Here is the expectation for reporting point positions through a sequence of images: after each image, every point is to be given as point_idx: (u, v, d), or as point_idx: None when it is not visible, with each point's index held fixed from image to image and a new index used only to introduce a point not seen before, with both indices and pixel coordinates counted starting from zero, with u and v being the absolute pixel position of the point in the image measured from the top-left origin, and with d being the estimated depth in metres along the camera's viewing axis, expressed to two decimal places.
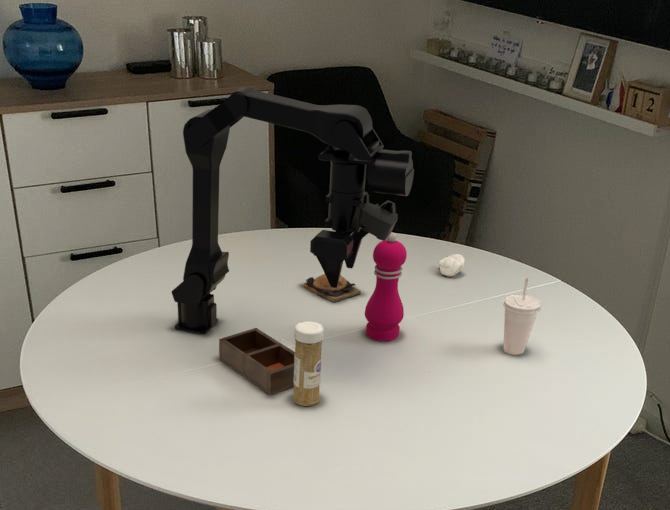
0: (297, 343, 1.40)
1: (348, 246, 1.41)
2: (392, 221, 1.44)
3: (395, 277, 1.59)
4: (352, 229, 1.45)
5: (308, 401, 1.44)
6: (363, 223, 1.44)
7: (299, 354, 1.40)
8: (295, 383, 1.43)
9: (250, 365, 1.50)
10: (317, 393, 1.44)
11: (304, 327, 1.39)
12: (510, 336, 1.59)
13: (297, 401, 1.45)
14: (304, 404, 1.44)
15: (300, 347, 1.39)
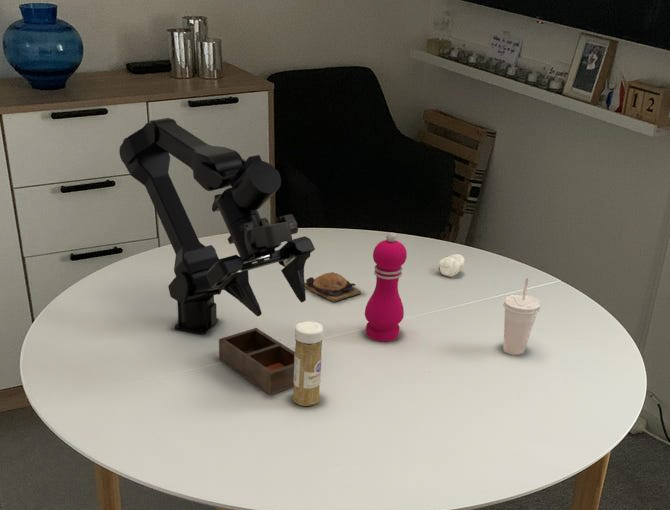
0: (297, 343, 1.40)
1: (228, 262, 1.39)
2: (273, 224, 1.38)
3: (395, 277, 1.59)
4: (249, 252, 1.42)
5: (308, 401, 1.44)
6: (251, 240, 1.41)
7: (299, 354, 1.40)
8: (295, 383, 1.43)
9: (250, 365, 1.50)
10: (317, 393, 1.44)
11: (304, 327, 1.39)
12: (510, 336, 1.59)
13: (297, 401, 1.45)
14: (304, 404, 1.44)
15: (300, 347, 1.39)
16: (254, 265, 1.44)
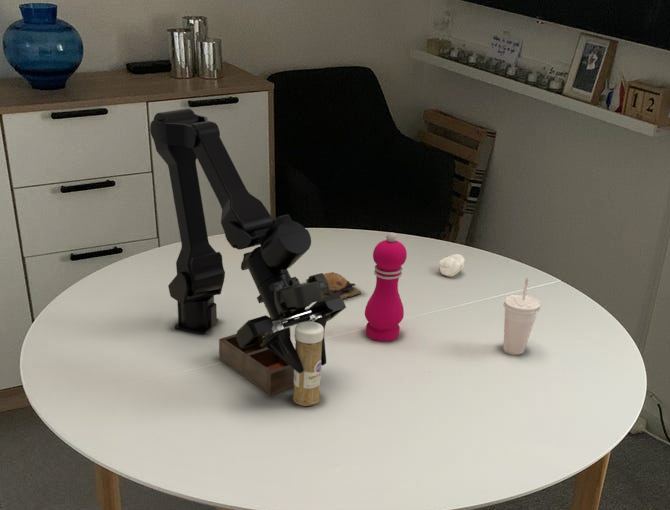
0: (297, 343, 1.40)
1: (257, 324, 1.36)
2: (304, 285, 1.36)
3: (395, 277, 1.59)
4: (279, 312, 1.40)
5: (308, 401, 1.44)
6: (281, 301, 1.38)
7: (299, 354, 1.40)
8: (295, 383, 1.43)
9: (250, 365, 1.50)
10: (317, 393, 1.44)
11: (304, 327, 1.39)
12: (510, 336, 1.59)
13: (297, 401, 1.45)
14: (304, 404, 1.44)
15: (301, 347, 1.39)
16: (284, 325, 1.41)
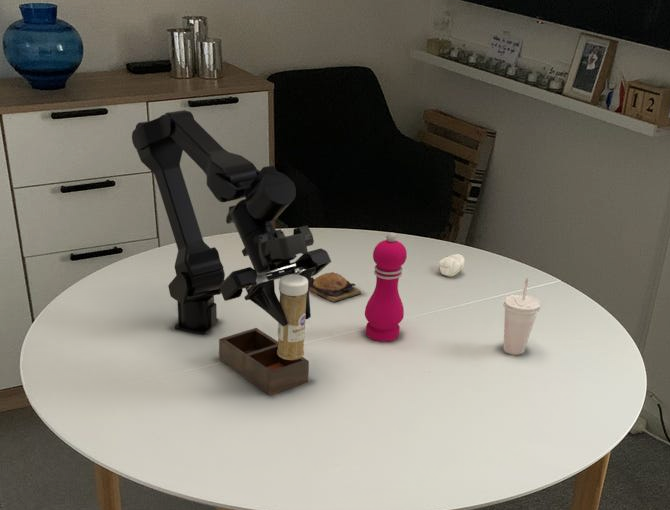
0: (281, 296, 1.39)
1: (241, 275, 1.36)
2: (288, 236, 1.35)
3: (395, 277, 1.59)
4: (263, 264, 1.39)
5: (292, 355, 1.44)
6: (266, 253, 1.38)
7: (283, 307, 1.40)
8: (279, 337, 1.43)
9: (250, 365, 1.50)
10: (301, 347, 1.44)
11: (289, 279, 1.38)
12: (510, 336, 1.59)
13: (281, 355, 1.44)
14: (288, 358, 1.44)
15: (285, 300, 1.39)
16: (268, 278, 1.41)
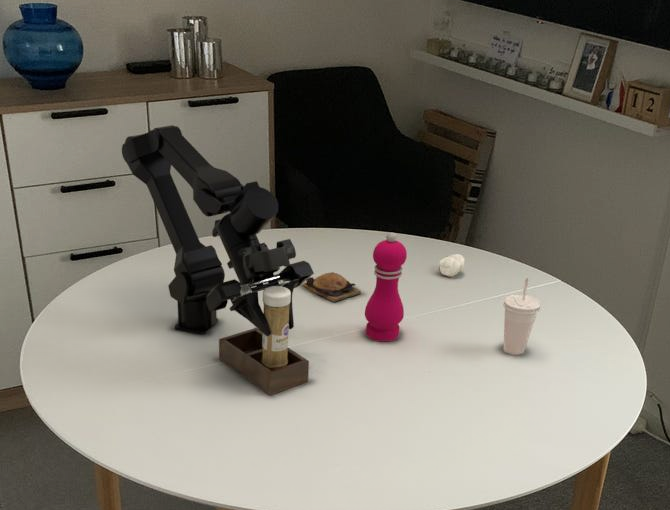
0: (265, 307, 1.44)
1: (226, 287, 1.40)
2: (271, 249, 1.40)
3: (395, 277, 1.59)
4: (247, 277, 1.44)
5: (276, 364, 1.48)
6: (250, 265, 1.43)
7: (267, 317, 1.44)
8: (263, 346, 1.48)
9: (250, 365, 1.50)
10: (285, 356, 1.49)
11: (272, 291, 1.43)
12: (510, 336, 1.59)
13: (265, 364, 1.49)
14: (272, 367, 1.49)
15: (268, 311, 1.44)
16: (253, 289, 1.46)
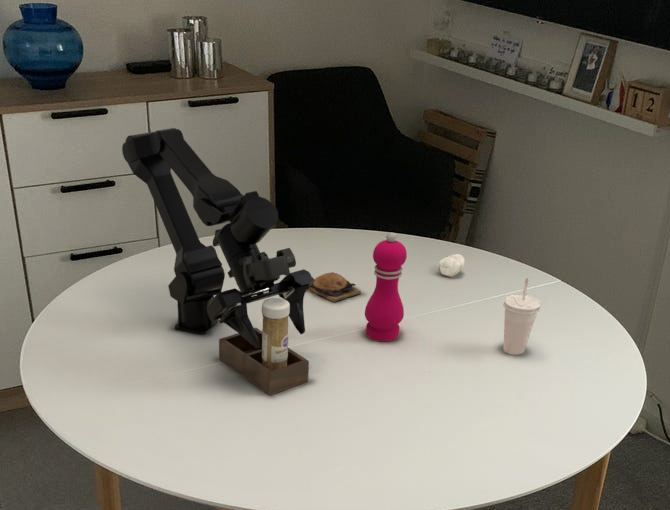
0: (264, 318, 1.45)
1: (226, 296, 1.41)
2: (271, 258, 1.41)
3: (395, 277, 1.59)
4: (248, 286, 1.45)
5: None
6: (250, 274, 1.43)
7: (266, 329, 1.46)
8: (263, 358, 1.49)
9: (250, 365, 1.50)
10: None
11: (271, 303, 1.45)
12: (510, 336, 1.59)
13: None
14: None
15: (267, 323, 1.45)
16: (253, 298, 1.46)
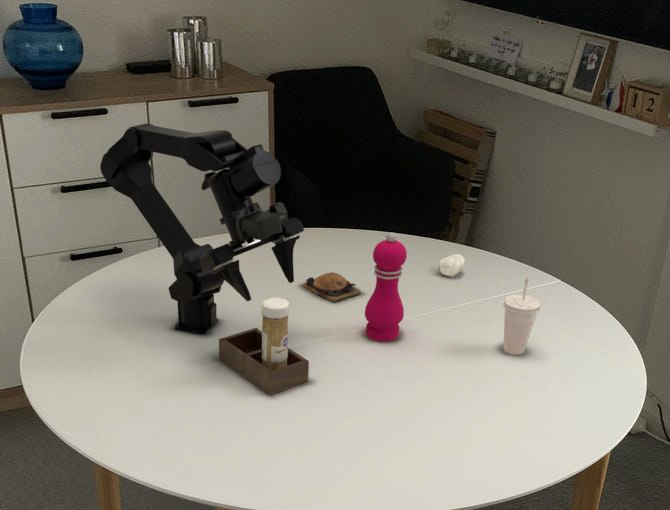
0: (264, 318, 1.45)
1: (220, 254, 1.44)
2: (264, 218, 1.43)
3: (395, 277, 1.59)
4: (240, 239, 1.47)
5: None
6: (243, 230, 1.46)
7: (266, 329, 1.46)
8: (263, 357, 1.49)
9: (250, 365, 1.50)
10: None
11: (271, 303, 1.45)
12: (510, 336, 1.59)
13: None
14: None
15: (267, 322, 1.45)
16: (245, 250, 1.49)
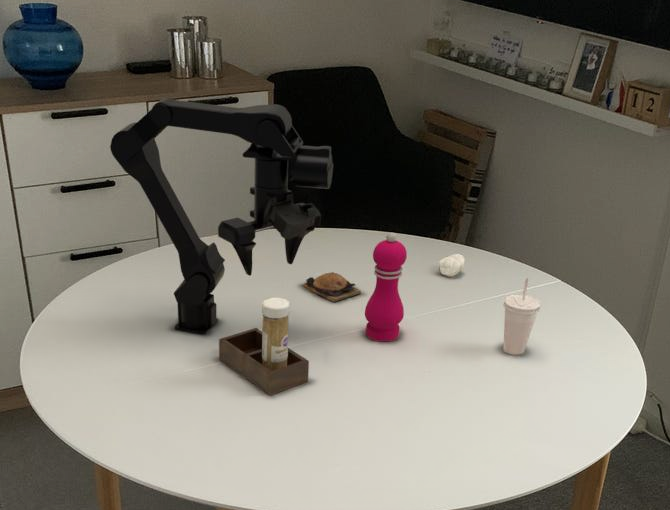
0: (264, 318, 1.45)
1: (242, 235, 1.49)
2: (295, 222, 1.48)
3: (395, 277, 1.59)
4: (264, 222, 1.52)
5: None
6: (270, 218, 1.50)
7: (266, 329, 1.46)
8: (263, 357, 1.49)
9: (250, 365, 1.50)
10: None
11: (271, 302, 1.45)
12: (510, 336, 1.59)
13: None
14: None
15: (267, 322, 1.45)
16: None
